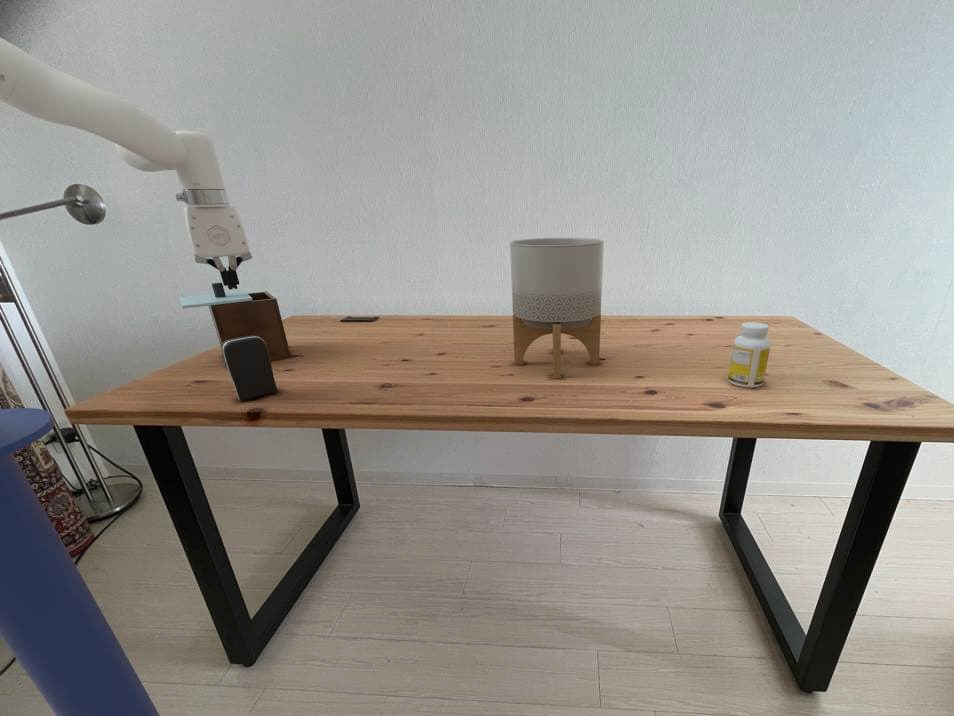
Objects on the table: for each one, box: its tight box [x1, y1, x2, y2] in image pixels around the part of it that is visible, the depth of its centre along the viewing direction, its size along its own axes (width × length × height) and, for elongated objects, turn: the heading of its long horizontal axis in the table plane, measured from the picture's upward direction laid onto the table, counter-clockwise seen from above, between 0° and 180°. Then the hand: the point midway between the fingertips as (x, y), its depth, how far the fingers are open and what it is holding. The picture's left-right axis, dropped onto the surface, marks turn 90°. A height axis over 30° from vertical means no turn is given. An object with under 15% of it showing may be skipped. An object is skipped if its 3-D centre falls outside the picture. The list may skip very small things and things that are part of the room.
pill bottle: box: [727, 321, 772, 389], centre depth 88 cm, size 6×6×12 cm
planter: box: [509, 237, 605, 379], centre depth 97 cm, size 19×19×26 cm
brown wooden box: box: [207, 290, 292, 362], centre depth 107 cm, size 13×13×14 cm
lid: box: [179, 282, 253, 309], centre depth 101 cm, size 13×13×4 cm
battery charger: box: [220, 335, 279, 402], centre depth 85 cm, size 7×4×11 cm, turn 135°
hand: (232, 288), depth 103 cm, fingers closed
